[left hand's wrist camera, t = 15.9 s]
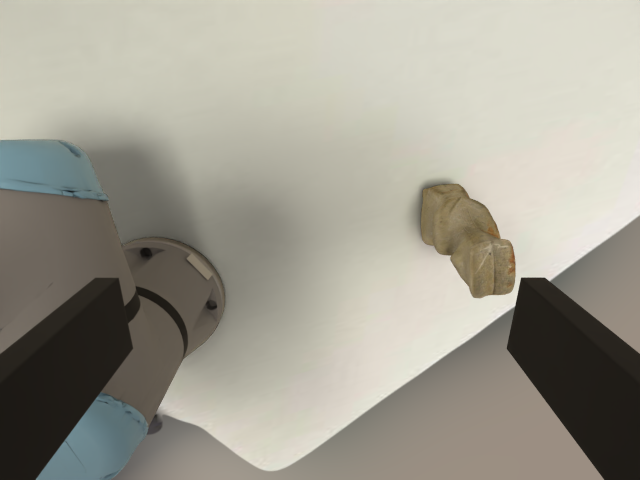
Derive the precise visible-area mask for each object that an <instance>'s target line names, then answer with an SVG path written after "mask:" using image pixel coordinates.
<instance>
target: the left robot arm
mask: <svg viewBox="0 0 640 480" xmlns="http://www.w3.org/2000/svg"><path fill="white" fill-rule="evenodd" d="M107 201H108V196H107V195H106V194H105V193H103V191H102V188H101V186H100V184H99V181H98V179H97V177H96V174H95V172H94V169H93V166H92V164H91V161H90V159H89V158H88V156H87V155H86V153H85V152H84V151H83V150H82V149H80V148H79V147H77V146H76V145H74V144H72V143H69V142H66V141H61V140H0V480H110V479H112V478H113V477H115V476H116V475H117V474H118V473H119V472H120V471H121V470H122V469H123V468H124V466H125V465H126V464H127V462H128V461H129V459H130V457H131V456H132V454H133V452H134V451H135V449H136V447H137V446H138V444H139V443H140V442H141V441H142V440H144V438H145V437H146V435H147V432H148V427H149V425H150V423H151V421H152V419H153V417H154V415H155V413H156V411H157V409H158V407H159V405H160V403H161V401H162V400H163V398H164V396H165V394H166V392H167V390H168V388H169V386H170V384H171V382H172V380H173V378H174V376H175V374H176V372H177V370H178V368H179V366H180V364H181V362H182V360H183V359H184V358H185V357H186V356H188V355H189V354H190V353H191V352H193V351H194V350H195V349H197V348H198V347H199V346H201V345H202V344H203V343H204V342H205V341H206V340H207V339H208V338H209V337H210V336H211V335H212V333H213V332H214V331H215V329H216V327H217V326H218V323H219V321H220V319H221V317H222V314H223V311H224V305H225V294H224V289H223V285H222V282H221V279H220V277H219V275H218V273H217V272H216V270H215V269H214V267H213V266H212V265H211V263H210V262H209V261H208V260H207V259H206V258H205V257H204V256H203V255H201V254H200V253H199V252H197V251H196V250H194V249H193V248H191V247H189V246H187V245H185V244H183V243H181V242H178V241H175V240H171V239H167V238H158V237H149V238H141V239H137V240H134V241H131V242H129V243H126V244H124V245H123V246H121V243H120V240H119V237H118V234H117V231H116V228H115V224H114V221H113V218H112V215H111V212H110V209H109V206H108V203H107ZM507 350H508V351H509V352H510V354H511V355H512V356H513V358H514V359H515V360H516V361H517V363H518V364H519V366H520V367H521V368H522V370H523V371H524V372H525V374H526V375H527V376H528V378H529V379H530V380H531V382H532V383H533V384H534V386H535V387H536V388H537V390H538V391H539V392H540V394H541V395H542V397H543V398H544V399H545V401H546V402H547V403H548V405H549V406H550V407H551V409H552V410H553V411H554V413H555V414H556V415H557V417H558V418H559V419H560V421H561V422H562V423H563V425H564V426H565V427H566V429H567V430H568V431H569V433H570V434H571V435H572V437H573V438H574V440H575V441H576V442H577V444H578V445H579V446H580V448H581V449H582V450H583V452H584V453H585V454H586V456H587V457H588V458H589V460H590V461H591V462H592V464H593V465H594V466H595V468H596V469H597V470H598V472H599V473H600V474H601V476H602V477H603V478H604V480H640V354H639V353H638V352H637V351H635V350H634V349H633V348H632V347H631V346H629V345H628V344H627V343H626V342H624V341H623V340H622V339H620V338H619V337H618V336H617V335H616V334H614V333H613V332H612V331H611V330H609V329H608V328H607V327H605V326H604V325H603V324H602V323H601V322H599V321H598V320H597V319H596V318H594V317H593V316H592V315H591V314H589V313H588V312H587V311H586V310H584V309H583V308H582V307H581V306H579V305H578V304H577V303H576V302H574V301H573V300H572V299H571V298H569V297H568V296H567V295H566V294H564V293H563V292H562V291H561V290H559V289H558V288H557V287H556V286H554V285H553V284H552V283H551V282H549V281H548V280H547V279H546V278H521V281H520V286H519V291H518V296H517V301H516V306H515V311H514V315H513V320H512V325H511V330H510V335H509V340H508V345H507Z"/></svg>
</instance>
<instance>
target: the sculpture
mask: <svg viewBox="0 0 640 480" xmlns="http://www.w3.org/2000/svg"><path fill="white" fill-rule="evenodd" d="M422 197H423V205H422V211H421V232H422V240H423V241H424V243H425V244H428V245H434V246H435V248H436V250H437V252H438V253H439V254H442V255H451V257H450V259H451V262H452V264H453V265H454V267H455V268H456V270H457V271H458V273H459V275H460V276H461V278H462V279H463V280H464V281H465V282H466V284H467V285H468V286H469V289H470V292H471V294H472V296H473V297H474V298H482V297H485V296H487V295H505V294H508V293H510V292H511V291H512V290H513V287H514V283H515V256H514V251H513V247H512V244H511V242H510V241H509V240H506V239H500V234H499V231H498V228H497V225H496V223H495V221H494V220H493V218H492V216H491V214H490V212H489V210H488V209H487V208H486V207H485V206H484V205H483V204H481V203H480V202H478V201H475V200H473V199H470V198H469V196H468V194H467V192H466V191H465V189H464V188H463V187H462V186H461V185H459V184H445V185H438V186H434V187H431V188H427V189H424V190H423V194H422Z"/></svg>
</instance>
